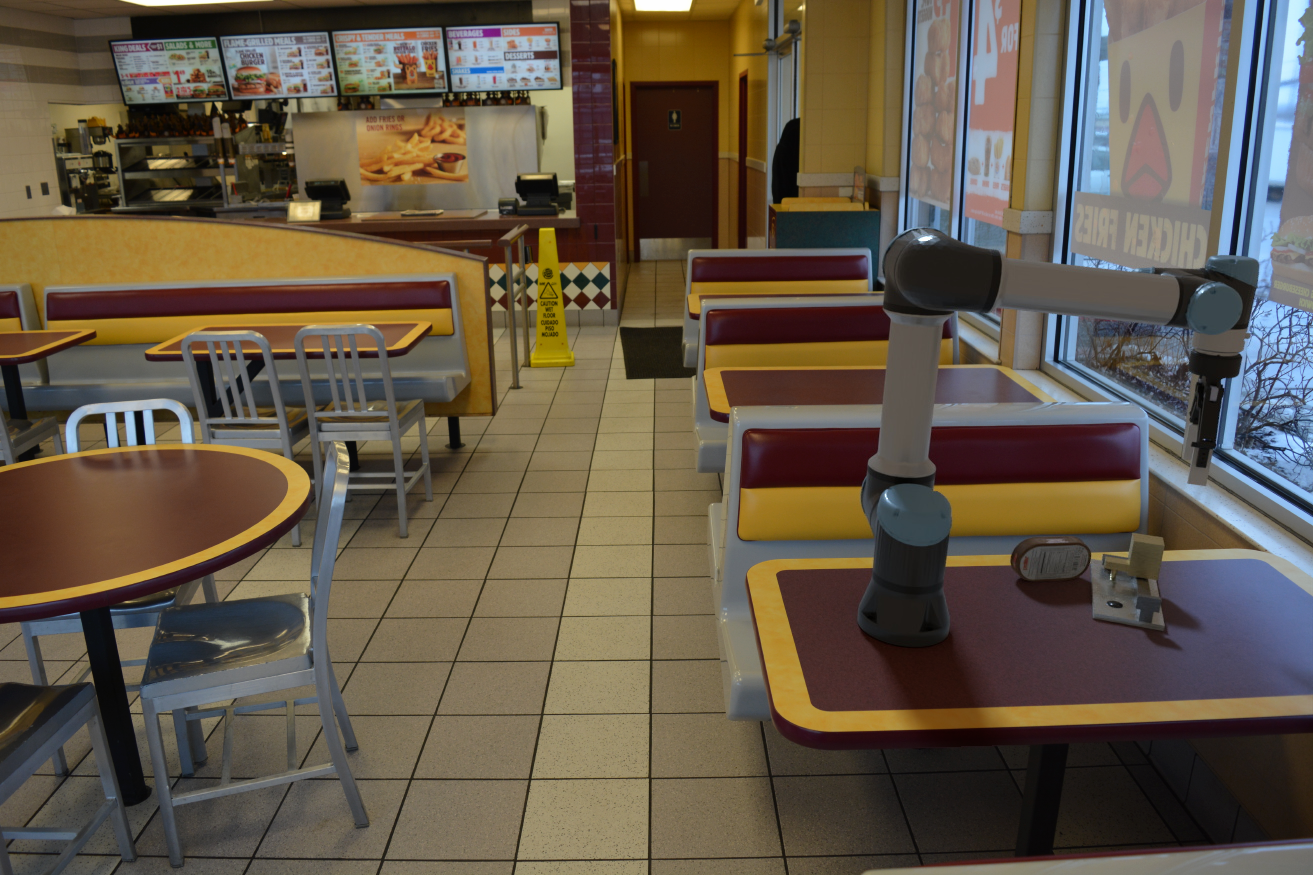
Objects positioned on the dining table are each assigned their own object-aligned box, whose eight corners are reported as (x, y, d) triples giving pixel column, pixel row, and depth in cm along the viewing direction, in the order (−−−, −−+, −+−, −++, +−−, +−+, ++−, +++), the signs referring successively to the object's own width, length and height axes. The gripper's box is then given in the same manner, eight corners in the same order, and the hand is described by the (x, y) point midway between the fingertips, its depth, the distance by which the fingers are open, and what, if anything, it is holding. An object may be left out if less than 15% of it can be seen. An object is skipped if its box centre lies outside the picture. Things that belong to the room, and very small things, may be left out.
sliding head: (1102, 582, 176) (1110, 537, 173) (1102, 573, 180) (1109, 529, 177) (1155, 591, 173) (1164, 545, 170) (1154, 582, 176) (1162, 537, 174)
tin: (1081, 573, 183) (1088, 533, 180) (1090, 581, 180) (1097, 540, 177) (1006, 577, 181) (1012, 536, 178) (1014, 584, 178) (1020, 543, 175)
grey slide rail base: (1104, 614, 165) (1108, 590, 163) (1100, 560, 186) (1104, 538, 185) (1156, 624, 162) (1161, 599, 160) (1147, 567, 183) (1151, 545, 182)
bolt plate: (1092, 618, 166) (1093, 612, 165) (1090, 563, 187) (1091, 558, 187) (1163, 631, 162) (1164, 625, 161) (1153, 573, 183) (1154, 568, 183)
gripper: (1252, 369, 146) (1225, 499, 152) (1235, 338, 167) (1212, 453, 174) (1196, 364, 149) (1172, 491, 155) (1186, 335, 170) (1166, 447, 177)
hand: (1193, 471), depth 165 cm, fingers open, 13 cm apart
